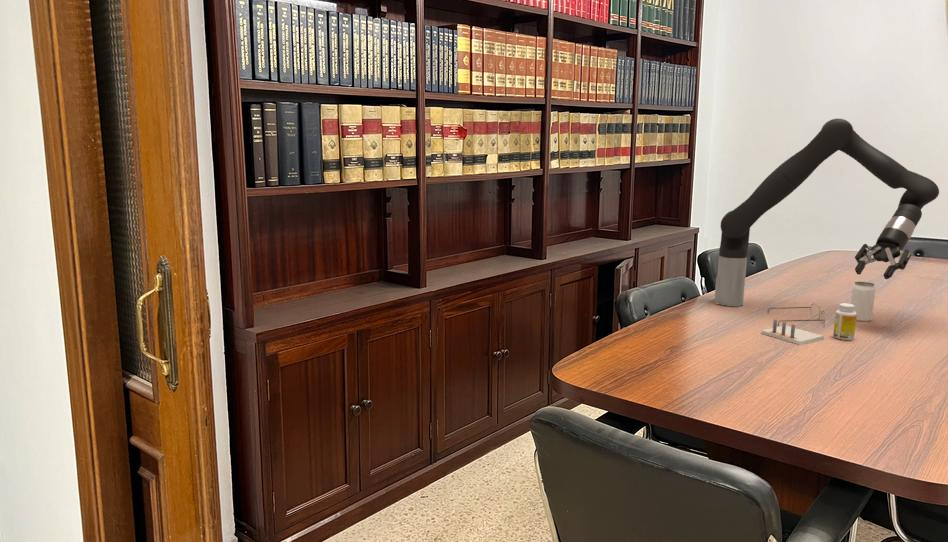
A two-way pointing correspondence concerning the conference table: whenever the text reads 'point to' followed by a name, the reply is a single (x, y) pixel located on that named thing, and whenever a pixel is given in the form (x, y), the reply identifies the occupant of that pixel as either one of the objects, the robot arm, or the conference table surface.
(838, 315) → the supplement bottle
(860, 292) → the can
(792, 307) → the eyeglasses
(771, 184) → the robot arm
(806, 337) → the header board
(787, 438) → the conference table surface
